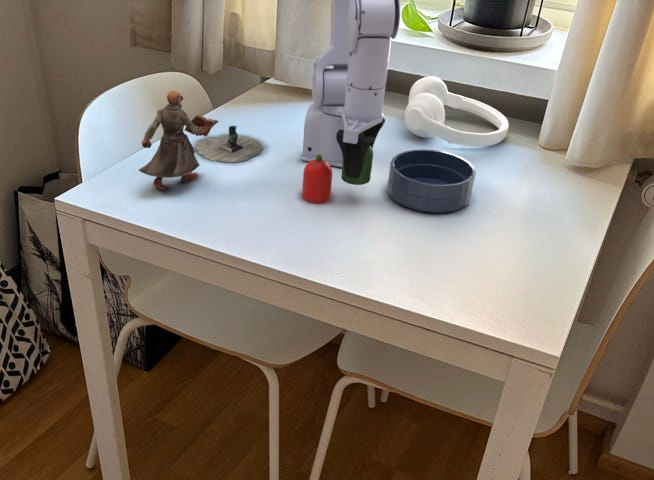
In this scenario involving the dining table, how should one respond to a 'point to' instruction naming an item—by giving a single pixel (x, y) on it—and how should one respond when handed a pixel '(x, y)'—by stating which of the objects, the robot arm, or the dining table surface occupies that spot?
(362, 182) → the green pepper
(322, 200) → the red pepper
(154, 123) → the figurine
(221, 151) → the sculpture
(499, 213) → the dining table surface
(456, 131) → the headphones
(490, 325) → the dining table surface
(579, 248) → the dining table surface
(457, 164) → the shallow round dish
